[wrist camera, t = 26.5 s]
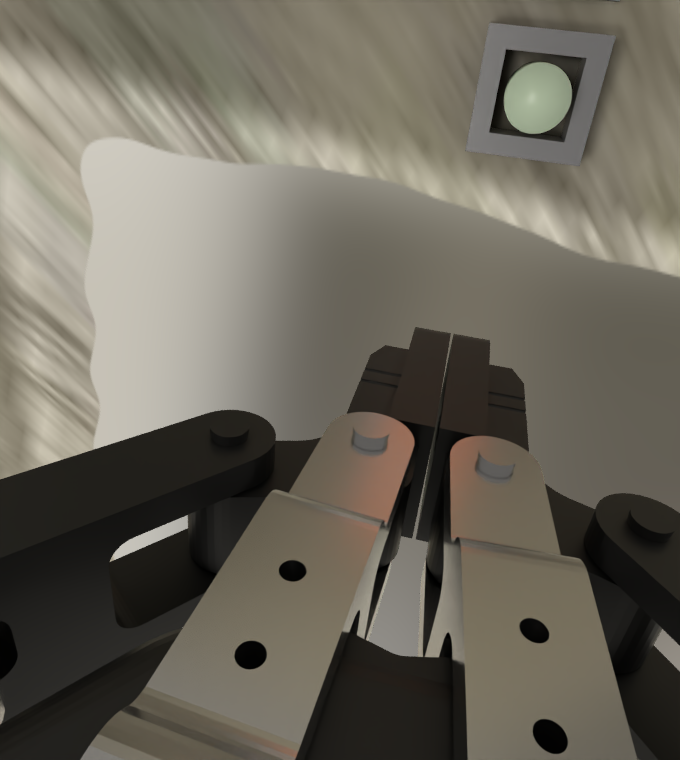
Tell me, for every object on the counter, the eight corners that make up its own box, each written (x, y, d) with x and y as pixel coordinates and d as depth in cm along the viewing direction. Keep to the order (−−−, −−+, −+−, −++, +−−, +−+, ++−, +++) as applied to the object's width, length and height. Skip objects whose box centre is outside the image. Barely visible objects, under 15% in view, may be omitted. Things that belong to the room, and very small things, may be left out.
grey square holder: (467, 144, 46) (465, 150, 44) (489, 23, 42) (489, 22, 40) (574, 159, 45) (579, 166, 43) (608, 36, 41) (616, 35, 39)
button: (497, 122, 44) (497, 129, 41) (511, 57, 42) (512, 59, 39) (556, 130, 44) (561, 137, 40) (573, 64, 41) (580, 66, 38)
